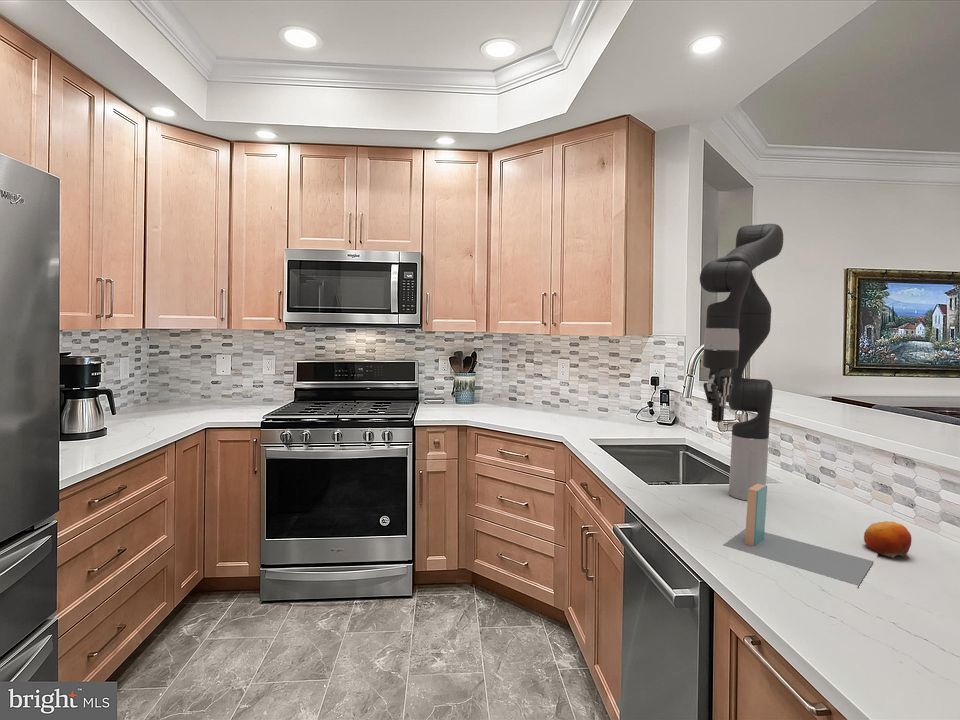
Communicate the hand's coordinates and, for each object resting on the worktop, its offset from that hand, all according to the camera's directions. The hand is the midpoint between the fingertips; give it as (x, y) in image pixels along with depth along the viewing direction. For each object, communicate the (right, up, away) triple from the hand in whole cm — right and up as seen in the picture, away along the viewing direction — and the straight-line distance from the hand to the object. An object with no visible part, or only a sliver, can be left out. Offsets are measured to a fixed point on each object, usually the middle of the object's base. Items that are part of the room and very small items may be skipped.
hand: (717, 421), depth 125 cm
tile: (+4, -25, -9) cm, 27 cm away
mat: (+10, -26, -15) cm, 32 cm away
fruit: (+30, -27, -12) cm, 42 cm away
